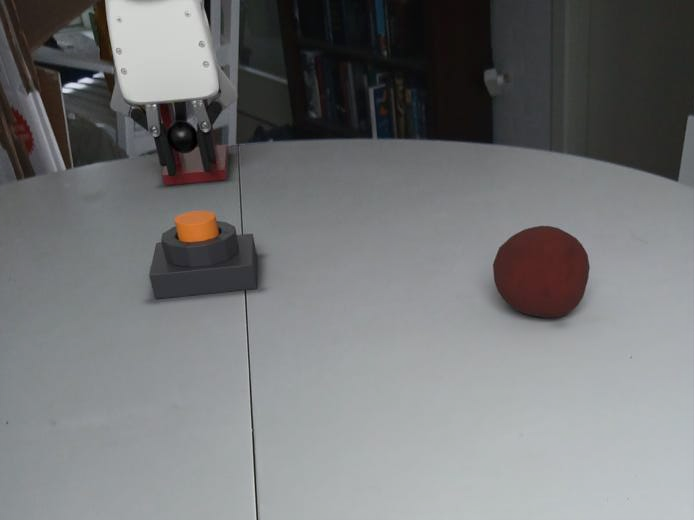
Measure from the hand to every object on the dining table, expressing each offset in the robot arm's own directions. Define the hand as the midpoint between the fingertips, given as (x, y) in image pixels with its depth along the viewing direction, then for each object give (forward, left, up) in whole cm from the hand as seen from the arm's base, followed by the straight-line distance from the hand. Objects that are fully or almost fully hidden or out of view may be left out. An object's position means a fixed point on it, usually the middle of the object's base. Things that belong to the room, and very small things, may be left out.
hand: (190, 168), depth 109 cm
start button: (+2, -26, +1) cm, 27 cm away
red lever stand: (0, +8, -2) cm, 8 cm away
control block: (+2, -26, -2) cm, 27 cm away
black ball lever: (0, +4, +4) cm, 6 cm away
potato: (+30, -41, -2) cm, 52 cm away
